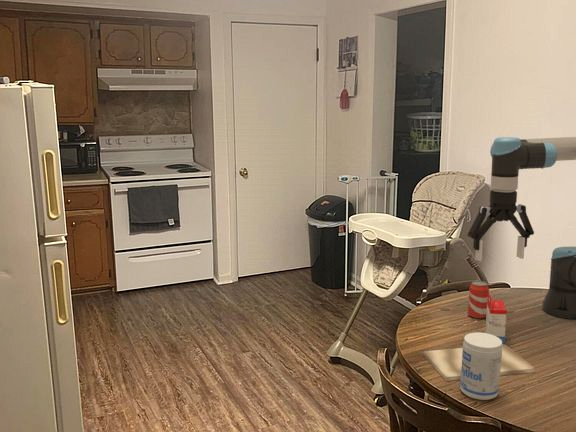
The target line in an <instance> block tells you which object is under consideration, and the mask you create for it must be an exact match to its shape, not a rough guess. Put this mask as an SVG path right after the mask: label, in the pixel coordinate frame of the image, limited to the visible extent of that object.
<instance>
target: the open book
mask: <svg viewBox="0 0 576 432" xmlns="http://www.w3.org/2000/svg"><path fill="white" fill-rule="evenodd" d="M462 352H463V347H458V348H445V349H437V350H426V351H423V354H422V356H423V357H424V358H425V359H426V360H427V362H429V364H430V365H431V366H432V368H434V369H435V370H436V372H437V373H439V375H440V376H441V377H442V378H443V379H444V380H445V381H446V382H450V381H459V380H461V366H462ZM535 372H536V368H535V367H534V366H533V365H531V363H529V362H528V361H527V360H525V359H524V358H523V357H522V356H521V355H520V354H518V353H516V351H514V350H513V349H512V348H510V347H509V346H508V345H507V344H506V343H505V344H502V358H501V369H500V377H501V376H511V375H520V374H521V375H523V374H530V373H535Z"/></svg>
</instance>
